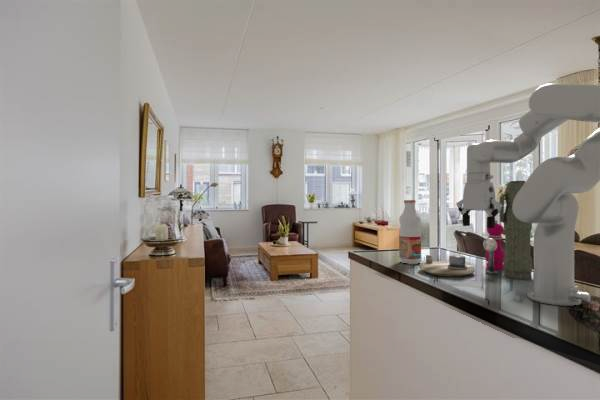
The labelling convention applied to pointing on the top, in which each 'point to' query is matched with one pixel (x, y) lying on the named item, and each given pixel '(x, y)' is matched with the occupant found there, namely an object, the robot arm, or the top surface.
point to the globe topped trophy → (490, 253)
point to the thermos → (515, 237)
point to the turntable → (443, 267)
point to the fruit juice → (410, 234)
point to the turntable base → (446, 275)
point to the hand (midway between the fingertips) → (478, 226)
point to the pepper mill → (498, 253)
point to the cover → (457, 262)
